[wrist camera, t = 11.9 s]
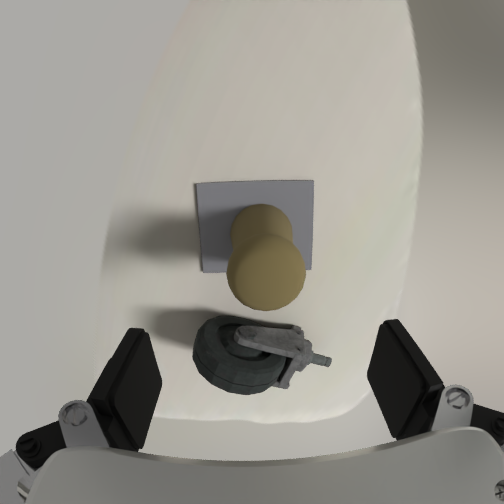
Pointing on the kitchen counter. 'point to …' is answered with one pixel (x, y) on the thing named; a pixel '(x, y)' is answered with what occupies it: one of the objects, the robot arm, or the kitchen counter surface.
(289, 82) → the kitchen counter surface
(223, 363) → the caster wheel
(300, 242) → the mat
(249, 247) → the cork
